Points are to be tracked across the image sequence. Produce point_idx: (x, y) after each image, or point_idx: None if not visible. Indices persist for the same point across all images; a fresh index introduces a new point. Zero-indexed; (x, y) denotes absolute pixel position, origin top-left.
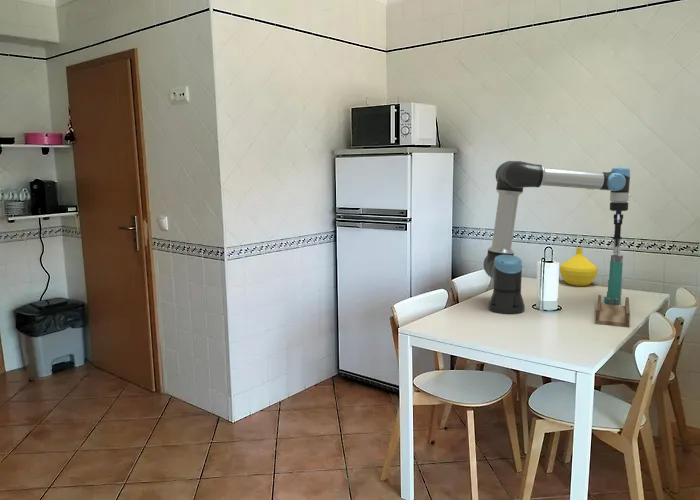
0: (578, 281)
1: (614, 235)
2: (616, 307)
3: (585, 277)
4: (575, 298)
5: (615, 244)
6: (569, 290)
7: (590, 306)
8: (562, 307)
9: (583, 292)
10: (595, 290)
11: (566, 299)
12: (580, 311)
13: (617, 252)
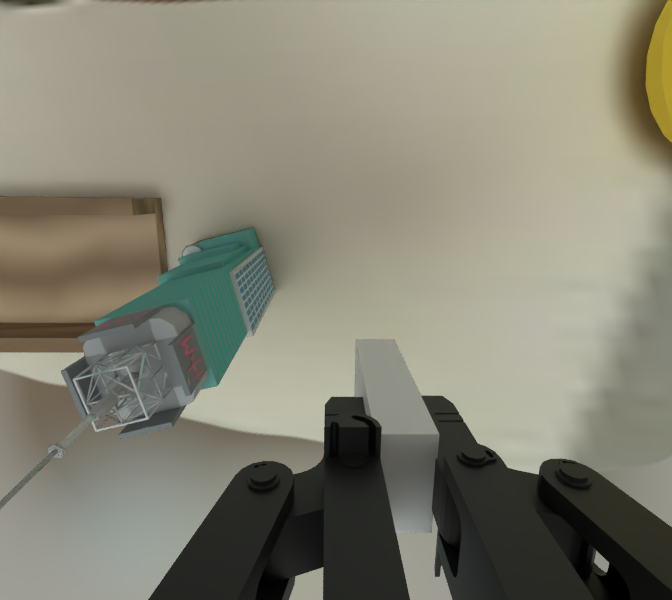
0: (647, 64)
1: (212, 512)
2: (114, 286)
3: (661, 103)
4: (307, 73)
5: (326, 416)
6: (510, 24)
7: (154, 162)
8: (55, 10)
9: (478, 113)
10: (549, 179)
11: (260, 21)
12: (19, 115)
13: (100, 404)
